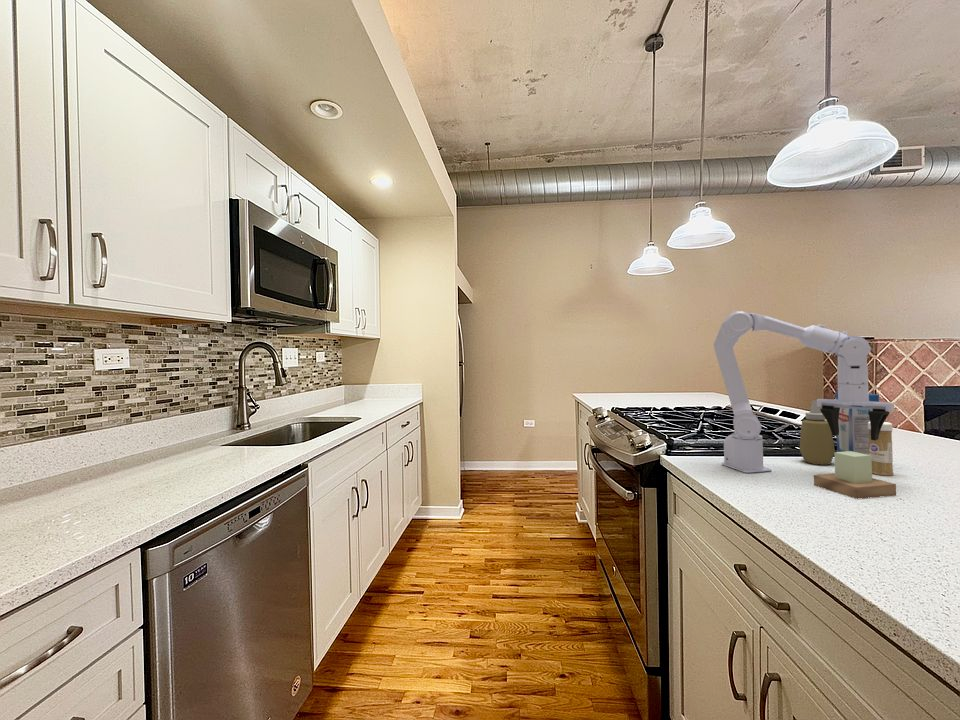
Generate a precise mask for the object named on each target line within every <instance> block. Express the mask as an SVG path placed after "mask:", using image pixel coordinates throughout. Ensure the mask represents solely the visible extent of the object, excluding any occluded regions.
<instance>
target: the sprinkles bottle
mask: <svg viewBox="0 0 960 720" xmlns="http://www.w3.org/2000/svg"><path fill="white" fill-rule="evenodd" d="M868 429H869V455H871V460H872V475H873V474H874V475H876V476H877V475H878V476H886V477H889V476H893V475H894V470H893V467H894V466H893V462H894V460H893V459H894V458H893V457H894V456H893V454H894V452H893V439H892V438H893V437H892V435H893V434H892V433H893V429H894V428H893V423H892V422H888V421H884V423H883V425H882V427H881V430H880V433H879V437H878V440H871V424H870V422H868Z"/></svg>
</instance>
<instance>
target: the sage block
mask: <svg viewBox="0 0 960 720" xmlns="http://www.w3.org/2000/svg"><path fill="white" fill-rule="evenodd" d="M833 457H834V473H835V478H838V479H842V480H845V481H849V482H852V483H864V482H872V478H873V473H872V460H871V455H867V454H862V453H858V452H853V451H845V452H837V451H835V452H834V456H833Z"/></svg>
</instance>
